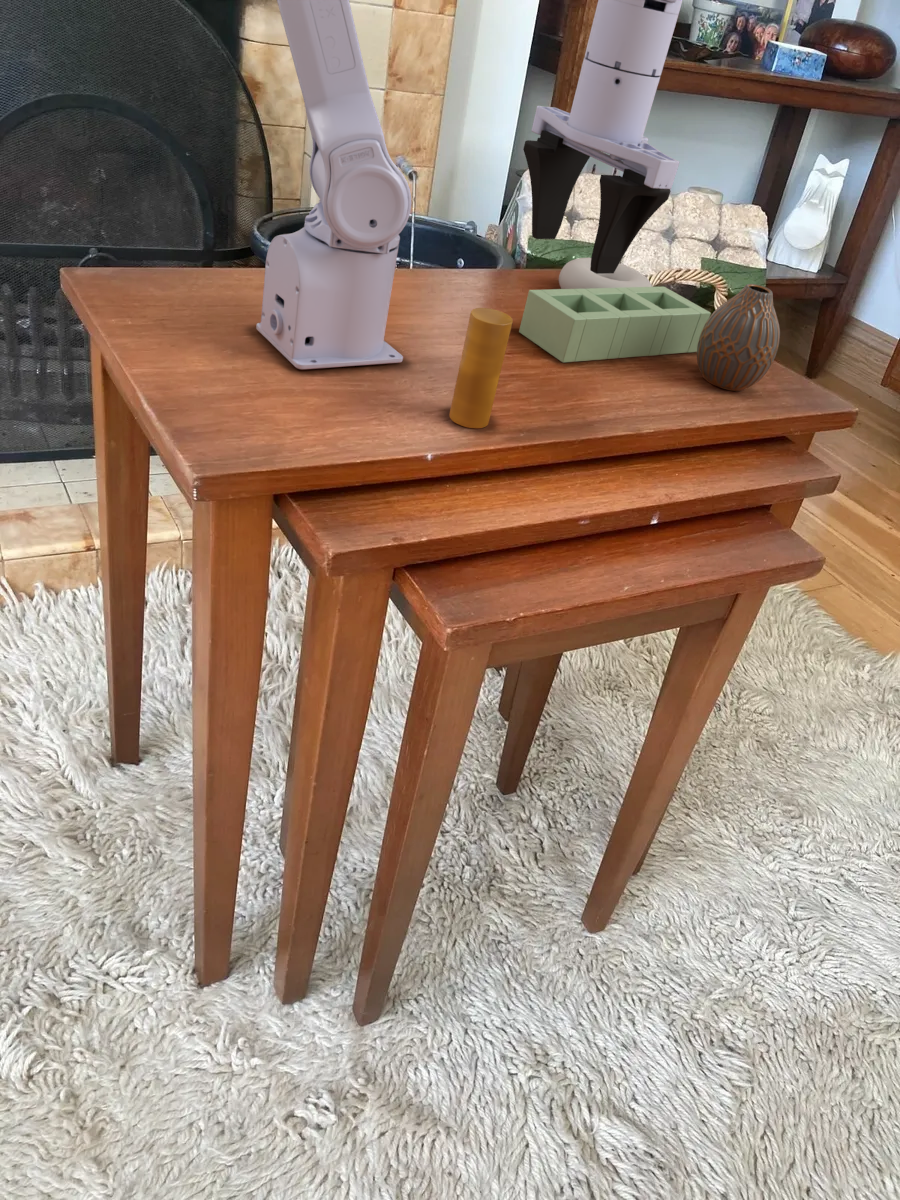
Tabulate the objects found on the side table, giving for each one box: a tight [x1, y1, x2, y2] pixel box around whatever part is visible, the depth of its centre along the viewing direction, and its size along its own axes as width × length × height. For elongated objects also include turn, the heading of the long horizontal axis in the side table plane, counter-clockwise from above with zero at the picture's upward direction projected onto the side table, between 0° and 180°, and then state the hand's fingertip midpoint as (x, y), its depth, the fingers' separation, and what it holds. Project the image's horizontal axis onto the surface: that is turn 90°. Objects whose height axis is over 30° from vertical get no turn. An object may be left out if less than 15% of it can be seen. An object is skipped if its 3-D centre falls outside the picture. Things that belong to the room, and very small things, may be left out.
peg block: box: [518, 286, 712, 364], centre depth 91 cm, size 17×7×4 cm, turn 123°
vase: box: [696, 283, 781, 392], centre depth 87 cm, size 7×7×9 cm
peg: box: [448, 307, 514, 429], centre depth 70 cm, size 3×3×8 cm
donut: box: [558, 257, 653, 289], centre depth 100 cm, size 10×4×10 cm
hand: (571, 254), depth 78 cm, fingers open, 7 cm apart
